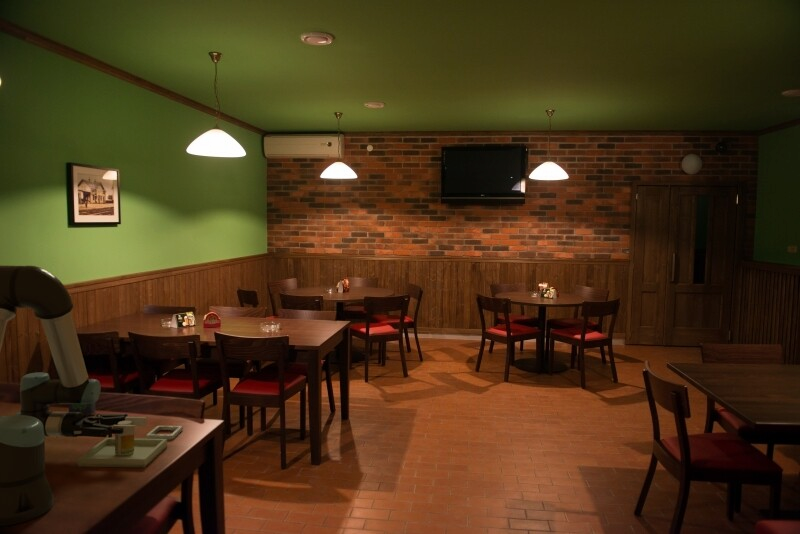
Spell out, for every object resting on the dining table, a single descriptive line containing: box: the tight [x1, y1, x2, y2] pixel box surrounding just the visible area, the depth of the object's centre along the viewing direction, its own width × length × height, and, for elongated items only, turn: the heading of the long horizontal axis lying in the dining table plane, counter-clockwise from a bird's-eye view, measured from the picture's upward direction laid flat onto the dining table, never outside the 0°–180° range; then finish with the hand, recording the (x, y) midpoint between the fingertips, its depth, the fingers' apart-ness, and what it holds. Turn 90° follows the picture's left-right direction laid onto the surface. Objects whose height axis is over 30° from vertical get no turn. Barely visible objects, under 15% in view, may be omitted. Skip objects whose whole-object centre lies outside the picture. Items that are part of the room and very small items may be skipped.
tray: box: [77, 437, 168, 468], centre depth 172 cm, size 16×20×2 cm
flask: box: [68, 402, 96, 417], centre depth 208 cm, size 10×3×12 cm, turn 88°
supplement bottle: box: [114, 421, 135, 456], centre depth 172 cm, size 5×5×10 cm
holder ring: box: [145, 425, 184, 441], centre depth 190 cm, size 9×9×2 cm
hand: (140, 425), depth 172 cm, fingers open, 7 cm apart
